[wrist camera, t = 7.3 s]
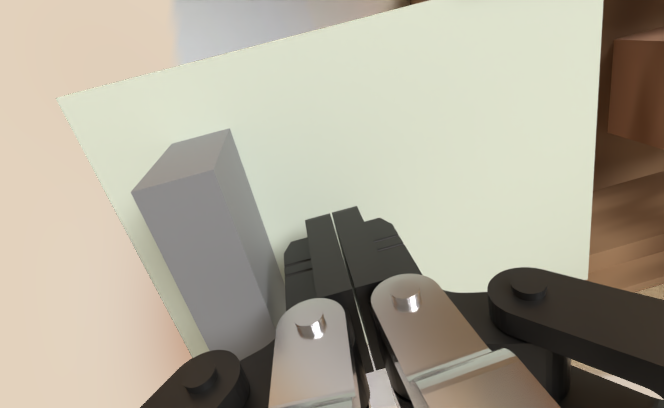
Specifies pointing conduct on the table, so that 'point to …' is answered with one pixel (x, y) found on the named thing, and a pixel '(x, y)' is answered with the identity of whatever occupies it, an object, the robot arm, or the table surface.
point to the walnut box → (629, 148)
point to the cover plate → (355, 153)
